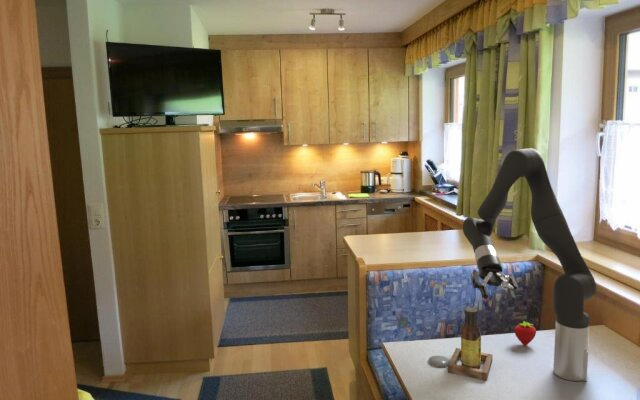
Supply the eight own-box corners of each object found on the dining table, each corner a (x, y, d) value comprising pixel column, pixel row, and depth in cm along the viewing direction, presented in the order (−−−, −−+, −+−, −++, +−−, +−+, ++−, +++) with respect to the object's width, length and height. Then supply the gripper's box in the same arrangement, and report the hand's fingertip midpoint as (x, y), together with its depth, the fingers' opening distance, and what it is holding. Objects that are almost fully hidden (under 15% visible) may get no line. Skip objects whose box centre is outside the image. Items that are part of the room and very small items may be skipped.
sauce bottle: (483, 372, 151) (484, 313, 148) (463, 372, 151) (464, 314, 148) (477, 361, 158) (478, 305, 154) (458, 362, 158) (459, 306, 154)
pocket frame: (492, 361, 157) (492, 354, 157) (486, 380, 146) (487, 373, 146) (455, 354, 163) (456, 347, 162) (448, 372, 151) (448, 365, 151)
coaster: (452, 359, 160) (452, 357, 159) (447, 369, 153) (447, 367, 153) (431, 355, 163) (431, 353, 163) (426, 365, 157) (426, 363, 156)
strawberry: (510, 342, 170) (511, 316, 169) (530, 340, 171) (531, 314, 169) (518, 349, 165) (519, 323, 163) (539, 348, 165) (540, 321, 164)
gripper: (470, 251, 159) (481, 289, 147) (511, 255, 160) (525, 294, 147) (464, 266, 164) (473, 304, 152) (503, 270, 164) (516, 308, 152)
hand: (499, 299), depth 149 cm, fingers open, 8 cm apart
